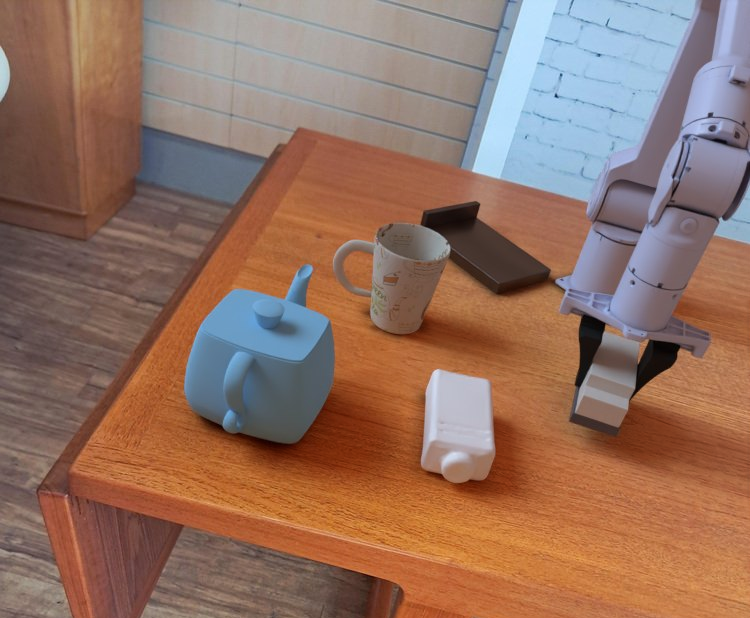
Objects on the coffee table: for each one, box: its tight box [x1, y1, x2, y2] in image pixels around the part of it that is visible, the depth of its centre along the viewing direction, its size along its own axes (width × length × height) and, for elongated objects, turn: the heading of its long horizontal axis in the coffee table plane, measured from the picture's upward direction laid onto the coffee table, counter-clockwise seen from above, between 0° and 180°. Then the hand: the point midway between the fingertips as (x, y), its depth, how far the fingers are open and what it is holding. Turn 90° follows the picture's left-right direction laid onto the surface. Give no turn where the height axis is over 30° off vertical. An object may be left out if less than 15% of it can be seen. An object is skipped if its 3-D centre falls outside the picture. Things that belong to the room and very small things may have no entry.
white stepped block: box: [568, 330, 641, 438], centre depth 81 cm, size 11×5×5 cm, turn 163°
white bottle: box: [420, 368, 496, 484], centre depth 76 cm, size 6×13×4 cm, turn 175°
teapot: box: [183, 263, 336, 445], centre depth 73 cm, size 12×18×12 cm
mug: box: [332, 222, 450, 335], centre depth 88 cm, size 8×13×10 cm, turn 78°
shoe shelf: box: [419, 200, 552, 295], centre depth 105 cm, size 10×16×4 cm, turn 38°
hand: (601, 389), depth 82 cm, fingers closed on white stepped block, 4 cm apart
